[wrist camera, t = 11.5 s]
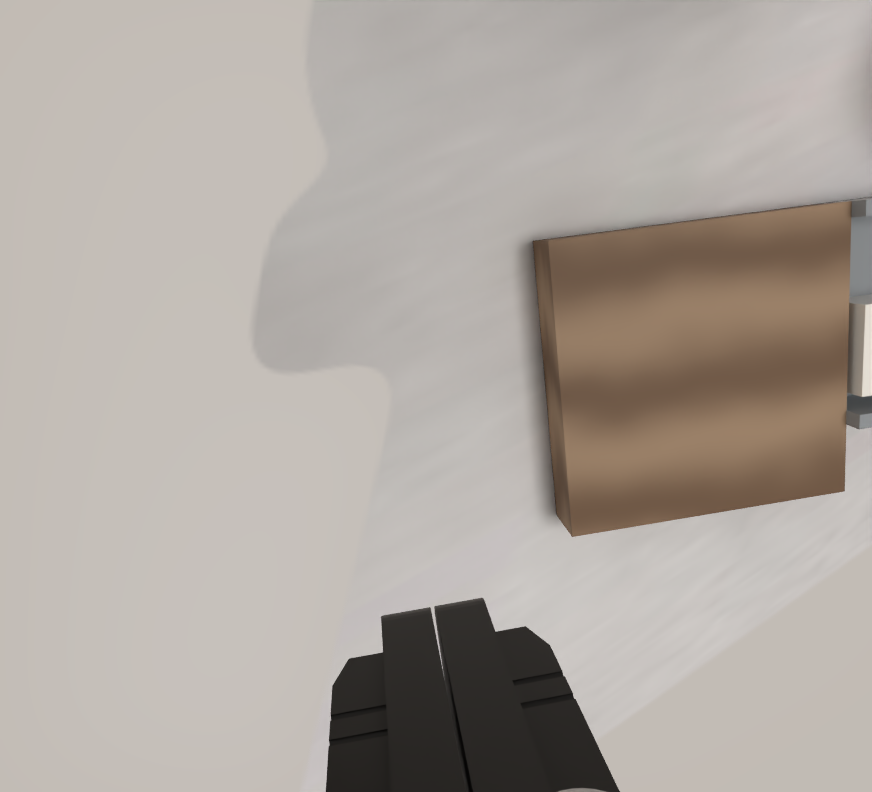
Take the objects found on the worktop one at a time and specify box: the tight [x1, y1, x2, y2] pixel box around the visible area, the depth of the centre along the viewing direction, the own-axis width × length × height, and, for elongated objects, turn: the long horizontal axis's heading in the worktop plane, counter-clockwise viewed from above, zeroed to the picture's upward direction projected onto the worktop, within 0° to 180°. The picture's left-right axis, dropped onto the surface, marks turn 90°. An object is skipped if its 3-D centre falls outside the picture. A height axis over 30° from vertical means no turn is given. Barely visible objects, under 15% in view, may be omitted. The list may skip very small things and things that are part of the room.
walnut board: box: [533, 201, 852, 537], centre depth 36 cm, size 16×16×3 cm
